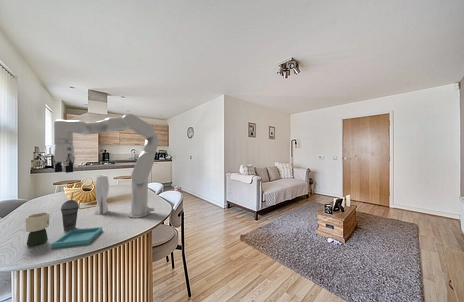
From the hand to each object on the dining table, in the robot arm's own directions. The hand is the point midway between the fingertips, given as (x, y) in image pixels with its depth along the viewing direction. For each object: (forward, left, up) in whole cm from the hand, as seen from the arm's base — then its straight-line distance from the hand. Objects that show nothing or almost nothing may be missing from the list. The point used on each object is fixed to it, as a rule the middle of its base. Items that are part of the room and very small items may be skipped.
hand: (63, 172), depth 97 cm
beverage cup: (-7, +7, -30) cm, 32 cm away
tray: (-18, +21, -30) cm, 41 cm away
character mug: (-2, +21, -30) cm, 37 cm away
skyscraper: (-12, -18, -31) cm, 38 cm away
